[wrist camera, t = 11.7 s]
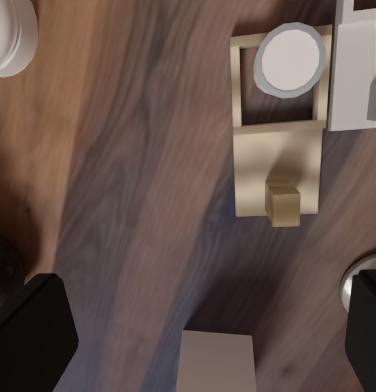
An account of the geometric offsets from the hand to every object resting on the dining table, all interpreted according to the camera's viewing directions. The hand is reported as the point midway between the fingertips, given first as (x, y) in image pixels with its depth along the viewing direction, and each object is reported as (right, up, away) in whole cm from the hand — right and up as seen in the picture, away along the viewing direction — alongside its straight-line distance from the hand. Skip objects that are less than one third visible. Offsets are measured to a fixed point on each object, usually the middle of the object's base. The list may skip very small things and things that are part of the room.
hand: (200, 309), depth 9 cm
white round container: (+11, +19, +25) cm, 33 cm away
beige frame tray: (+11, +12, +27) cm, 31 cm away
